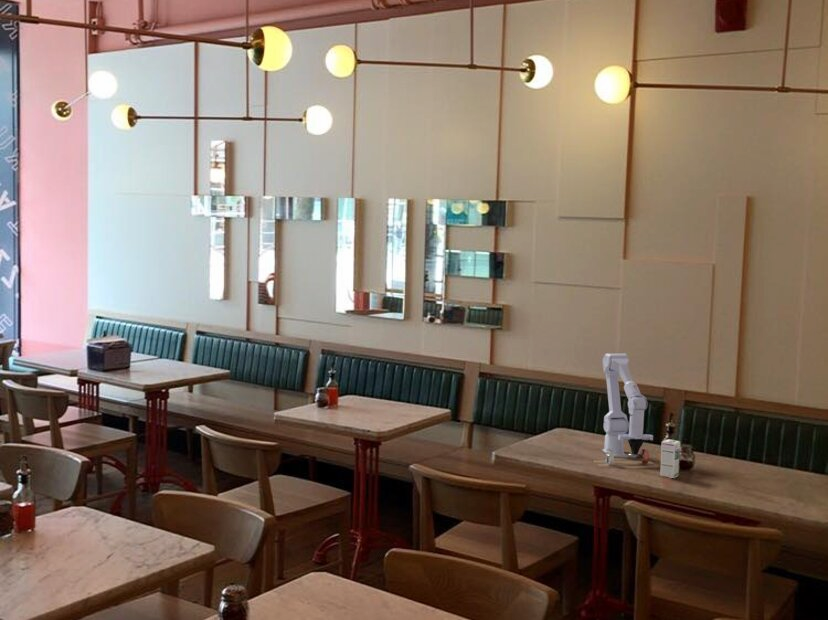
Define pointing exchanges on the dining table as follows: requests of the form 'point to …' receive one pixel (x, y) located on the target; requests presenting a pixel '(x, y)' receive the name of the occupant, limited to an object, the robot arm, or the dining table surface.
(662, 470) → the syrup box
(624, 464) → the light tan board
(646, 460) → the red knobbed metal rod
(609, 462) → the square metal loop
